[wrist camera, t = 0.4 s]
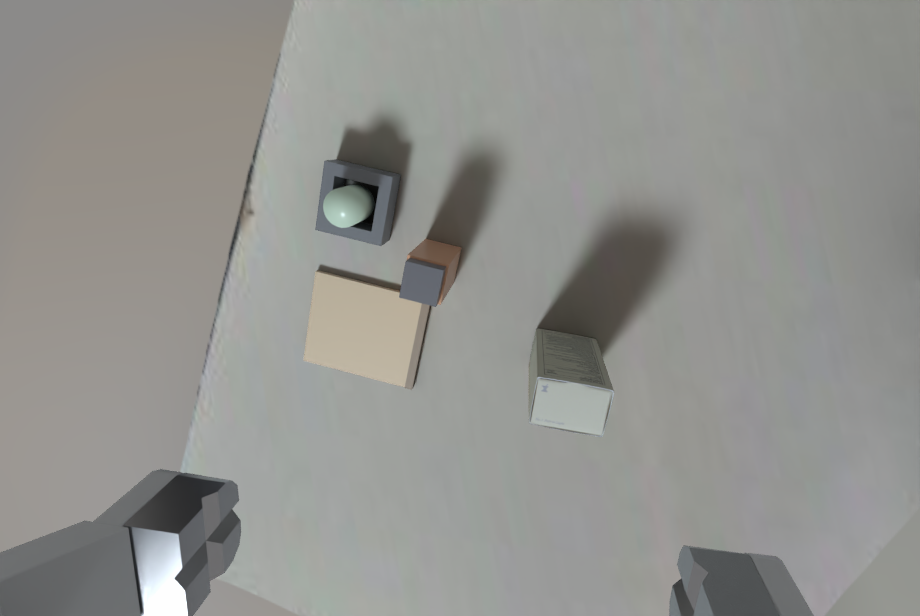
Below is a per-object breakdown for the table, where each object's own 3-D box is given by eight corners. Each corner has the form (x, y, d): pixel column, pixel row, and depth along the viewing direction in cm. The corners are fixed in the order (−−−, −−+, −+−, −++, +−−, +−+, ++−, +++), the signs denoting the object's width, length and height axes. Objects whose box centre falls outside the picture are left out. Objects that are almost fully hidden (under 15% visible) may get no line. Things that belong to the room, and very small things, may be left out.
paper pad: (317, 270, 57) (315, 271, 56) (431, 298, 56) (430, 300, 55) (305, 358, 60) (302, 360, 59) (413, 386, 59) (411, 389, 58)
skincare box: (528, 366, 57) (524, 425, 45) (536, 325, 55) (534, 375, 44) (590, 377, 56) (602, 440, 44) (600, 336, 55) (615, 390, 43)
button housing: (336, 159, 53) (324, 160, 50) (400, 174, 53) (392, 177, 50) (327, 224, 55) (315, 229, 52) (389, 240, 55) (380, 245, 52)
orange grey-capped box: (425, 238, 54) (403, 258, 46) (461, 247, 54) (446, 268, 45) (418, 273, 55) (396, 299, 47) (453, 282, 55) (437, 309, 46)
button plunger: (341, 180, 52) (325, 184, 48) (377, 188, 51) (363, 193, 48) (336, 216, 53) (320, 222, 49) (371, 224, 52) (357, 231, 49)
